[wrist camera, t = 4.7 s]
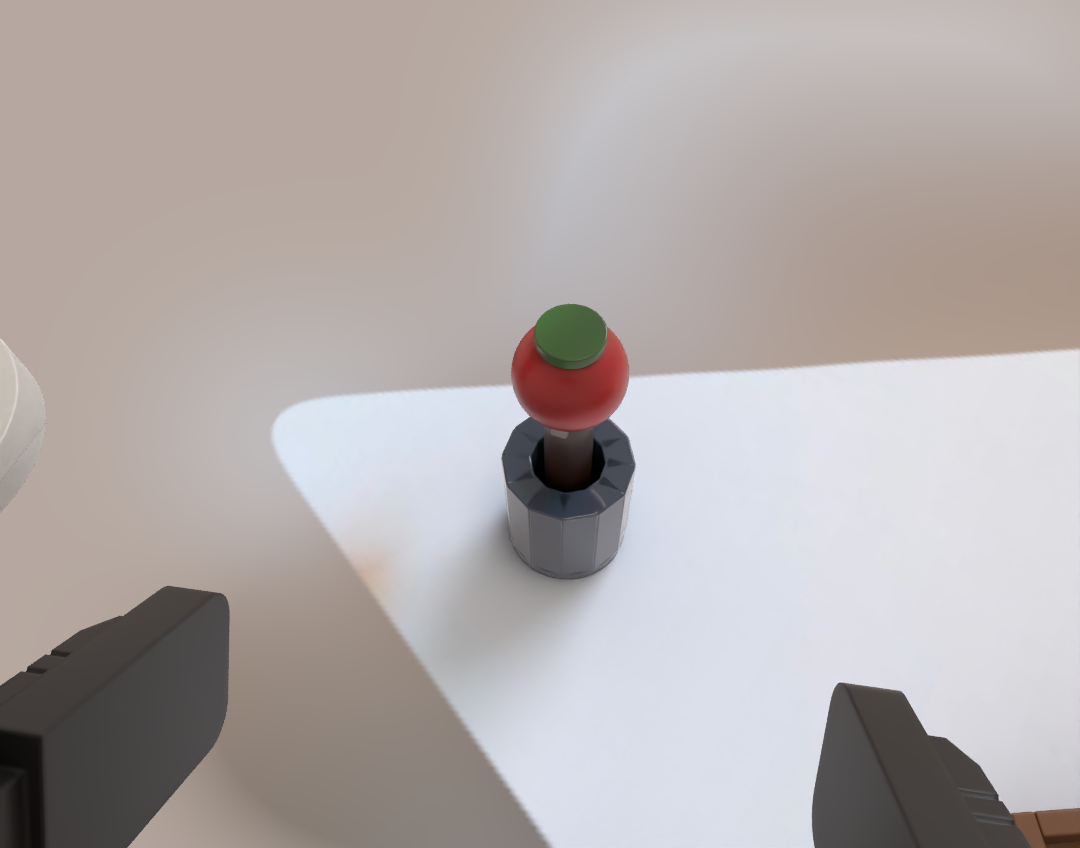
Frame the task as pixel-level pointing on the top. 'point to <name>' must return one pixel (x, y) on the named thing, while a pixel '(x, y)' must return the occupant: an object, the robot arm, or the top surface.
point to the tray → (1050, 828)
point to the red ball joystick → (569, 387)
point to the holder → (567, 503)
